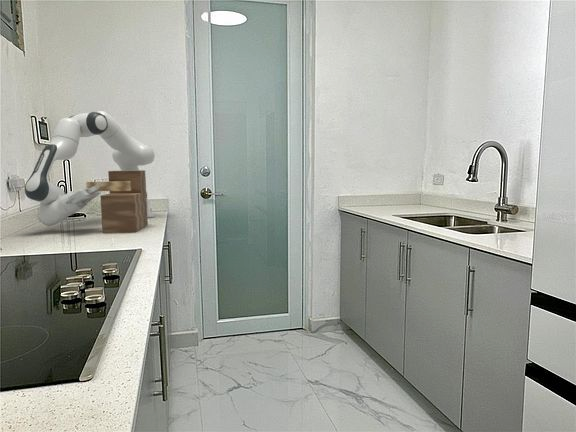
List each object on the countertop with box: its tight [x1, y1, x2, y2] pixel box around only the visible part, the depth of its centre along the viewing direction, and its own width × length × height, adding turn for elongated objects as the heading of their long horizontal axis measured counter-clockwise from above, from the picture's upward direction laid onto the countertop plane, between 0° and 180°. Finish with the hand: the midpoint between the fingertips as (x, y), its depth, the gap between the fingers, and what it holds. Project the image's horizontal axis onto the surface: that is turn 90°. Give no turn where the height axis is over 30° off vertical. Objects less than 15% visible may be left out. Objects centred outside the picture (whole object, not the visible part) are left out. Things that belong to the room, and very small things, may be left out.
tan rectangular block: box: [85, 181, 131, 192], centre depth 206 cm, size 18×3×4 cm, turn 94°
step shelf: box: [99, 169, 149, 234], centre depth 212 cm, size 23×14×26 cm, turn 4°
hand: (101, 185), depth 205 cm, fingers closed on tan rectangular block, 3 cm apart
